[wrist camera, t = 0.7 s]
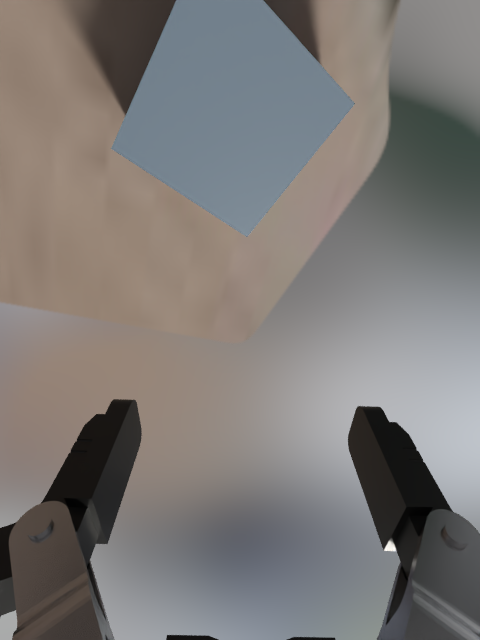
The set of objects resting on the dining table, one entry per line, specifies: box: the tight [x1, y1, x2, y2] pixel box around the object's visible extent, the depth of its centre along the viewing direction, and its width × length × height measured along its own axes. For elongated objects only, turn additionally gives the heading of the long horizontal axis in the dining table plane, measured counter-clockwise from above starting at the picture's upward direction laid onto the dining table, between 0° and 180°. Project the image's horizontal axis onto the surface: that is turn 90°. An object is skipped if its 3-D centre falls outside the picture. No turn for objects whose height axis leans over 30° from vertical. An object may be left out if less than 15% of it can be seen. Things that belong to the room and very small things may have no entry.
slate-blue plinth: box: [111, 0, 355, 237], centre depth 25 cm, size 12×12×8 cm
